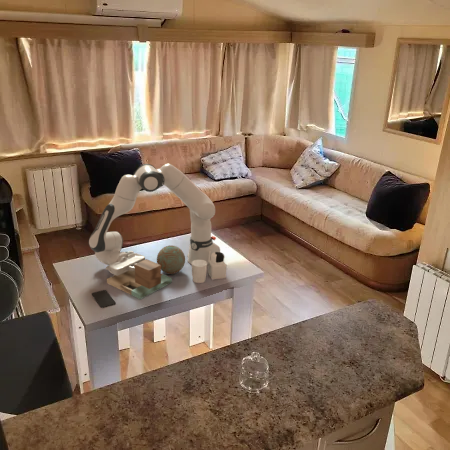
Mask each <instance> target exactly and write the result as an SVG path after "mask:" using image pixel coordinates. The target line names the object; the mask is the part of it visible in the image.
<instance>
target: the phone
mask: <svg viewBox="0 0 450 450" xmlns="http://www.w3.org/2000/svg"><path fill="white" fill-rule="evenodd" d="M91 296H92V297H93V299H94V300H95V302H96V303H97V305H98V306H99V307H100V308H102V309H105V308H107V307H112V306H115V305H116V303H117V302H116V301H115V300H114V298H113V297H112V296H111V295H110V294H109V292H108V291H107V289H103V290H98V291H94V292H92V293H91Z"/></svg>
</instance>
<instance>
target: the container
mask: <svg viewBox="0 0 450 450" xmlns="http://www.w3.org/2000/svg"><path fill="white" fill-rule="evenodd" d="M207 274H208V275H209V277H210V279H211V280H212V281H213V280H221V279H226V278H227V264H226V263H225V254H224V253H223V252H221V251H220V252H214V253H212V254H211V260H210V261H208V266H207Z"/></svg>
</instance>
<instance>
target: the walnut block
mask: <svg viewBox="0 0 450 450" xmlns="http://www.w3.org/2000/svg"><path fill="white" fill-rule="evenodd" d="M161 274H162V270H161V265H160V264H157V262H154V261H152V260H149V259H147V258H145V260H143V261H141V262H139V263H137V264H135V283H138V284H140V285H142V286H144V287H146V288H149V289H150V288H152V287H154V286H156V285H158V284H160V283H161Z"/></svg>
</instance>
